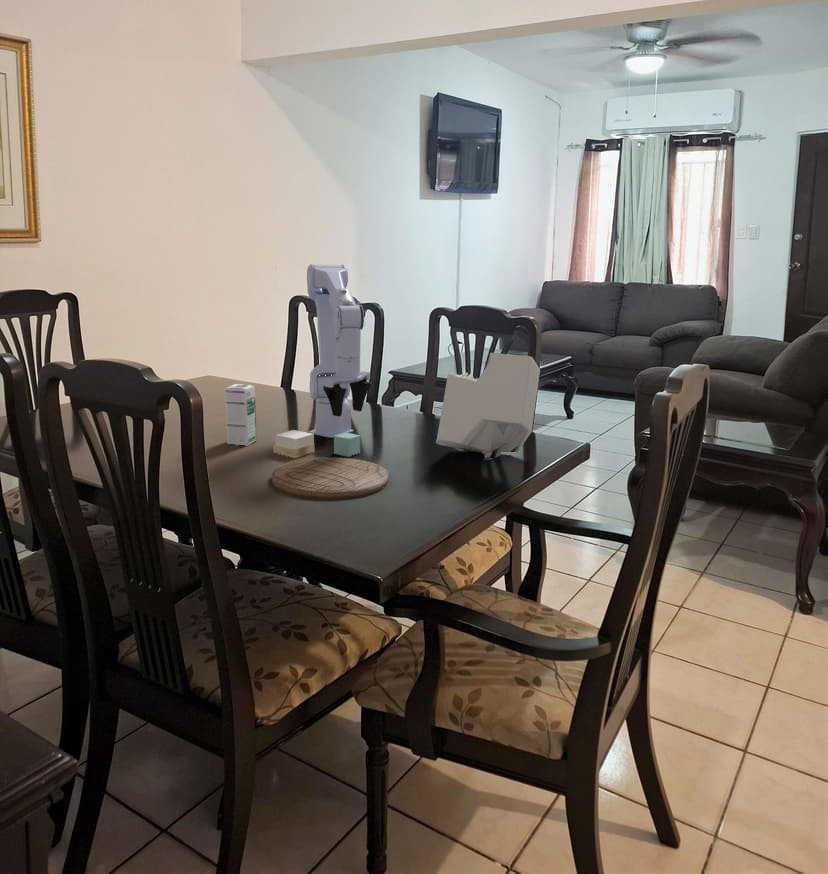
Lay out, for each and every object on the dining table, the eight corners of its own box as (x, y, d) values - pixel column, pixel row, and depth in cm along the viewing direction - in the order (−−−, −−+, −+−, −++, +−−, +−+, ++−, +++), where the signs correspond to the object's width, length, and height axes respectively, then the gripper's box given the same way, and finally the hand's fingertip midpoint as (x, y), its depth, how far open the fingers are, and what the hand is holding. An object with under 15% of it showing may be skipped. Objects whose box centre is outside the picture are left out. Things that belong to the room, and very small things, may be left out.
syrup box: (247, 446, 193) (246, 388, 189) (225, 444, 194) (224, 386, 191) (257, 440, 198) (256, 384, 195) (235, 439, 200) (233, 382, 196)
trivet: (319, 459, 186) (319, 451, 185) (409, 478, 173) (410, 470, 173) (247, 485, 165) (246, 476, 164) (343, 508, 152) (343, 499, 152)
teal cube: (345, 450, 193) (346, 432, 192) (360, 453, 191) (360, 435, 190) (334, 453, 190) (334, 435, 189) (348, 457, 187) (348, 439, 186)
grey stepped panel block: (430, 453, 183) (445, 348, 185) (446, 459, 198) (460, 362, 200) (516, 464, 177) (531, 356, 179) (526, 469, 192) (540, 370, 194)
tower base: (293, 449, 194) (293, 439, 193) (314, 454, 190) (314, 444, 190) (273, 454, 188) (273, 444, 188) (294, 460, 185) (294, 449, 184)
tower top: (293, 439, 193) (293, 429, 193) (313, 444, 190) (313, 434, 189) (275, 444, 188) (275, 434, 187) (295, 449, 184) (295, 439, 184)
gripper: (341, 362, 176) (340, 420, 180) (380, 355, 188) (379, 410, 191) (317, 358, 180) (317, 416, 184) (357, 352, 192) (356, 406, 195)
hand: (347, 413), depth 188 cm, fingers open, 7 cm apart
